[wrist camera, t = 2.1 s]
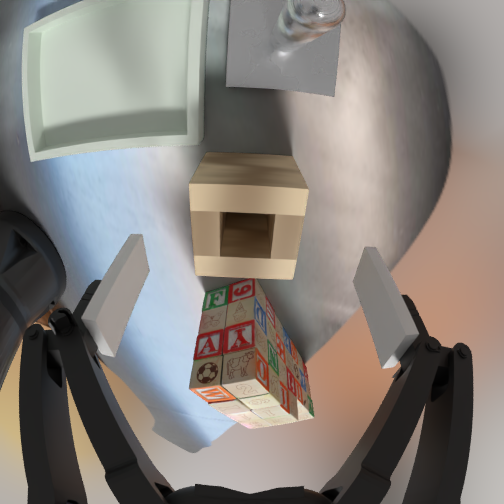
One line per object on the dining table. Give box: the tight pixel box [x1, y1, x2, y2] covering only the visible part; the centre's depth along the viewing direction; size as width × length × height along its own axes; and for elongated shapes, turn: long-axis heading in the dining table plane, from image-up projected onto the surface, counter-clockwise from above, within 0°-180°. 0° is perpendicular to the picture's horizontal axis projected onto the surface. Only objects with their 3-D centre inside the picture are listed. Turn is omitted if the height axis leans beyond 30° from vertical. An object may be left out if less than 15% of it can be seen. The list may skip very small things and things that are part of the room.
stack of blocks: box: [189, 278, 314, 429], centre depth 30 cm, size 21×6×12 cm, turn 24°
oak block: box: [189, 152, 309, 280], centre depth 20 cm, size 7×7×7 cm
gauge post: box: [226, 0, 346, 97], centre depth 11 cm, size 8×8×12 cm
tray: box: [22, 0, 209, 162], centre depth 15 cm, size 17×14×2 cm
